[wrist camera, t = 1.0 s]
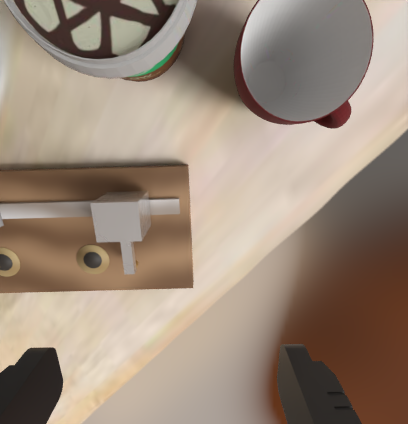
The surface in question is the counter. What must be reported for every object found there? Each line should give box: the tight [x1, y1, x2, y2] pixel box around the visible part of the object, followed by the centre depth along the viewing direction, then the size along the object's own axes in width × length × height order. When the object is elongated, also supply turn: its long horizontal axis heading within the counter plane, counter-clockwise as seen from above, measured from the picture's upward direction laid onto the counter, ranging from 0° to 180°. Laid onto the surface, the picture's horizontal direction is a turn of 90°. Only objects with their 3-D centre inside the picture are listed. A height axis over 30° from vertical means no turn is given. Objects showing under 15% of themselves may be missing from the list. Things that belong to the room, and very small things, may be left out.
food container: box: [4, 0, 197, 82], centre depth 19 cm, size 12×6×10 cm, turn 98°
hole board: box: [0, 165, 193, 293], centre depth 26 cm, size 14×24×6 cm, turn 92°
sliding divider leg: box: [90, 191, 151, 274], centre depth 25 cm, size 8×4×4 cm, turn 2°
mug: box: [234, 0, 373, 128], centre depth 20 cm, size 10×8×10 cm
